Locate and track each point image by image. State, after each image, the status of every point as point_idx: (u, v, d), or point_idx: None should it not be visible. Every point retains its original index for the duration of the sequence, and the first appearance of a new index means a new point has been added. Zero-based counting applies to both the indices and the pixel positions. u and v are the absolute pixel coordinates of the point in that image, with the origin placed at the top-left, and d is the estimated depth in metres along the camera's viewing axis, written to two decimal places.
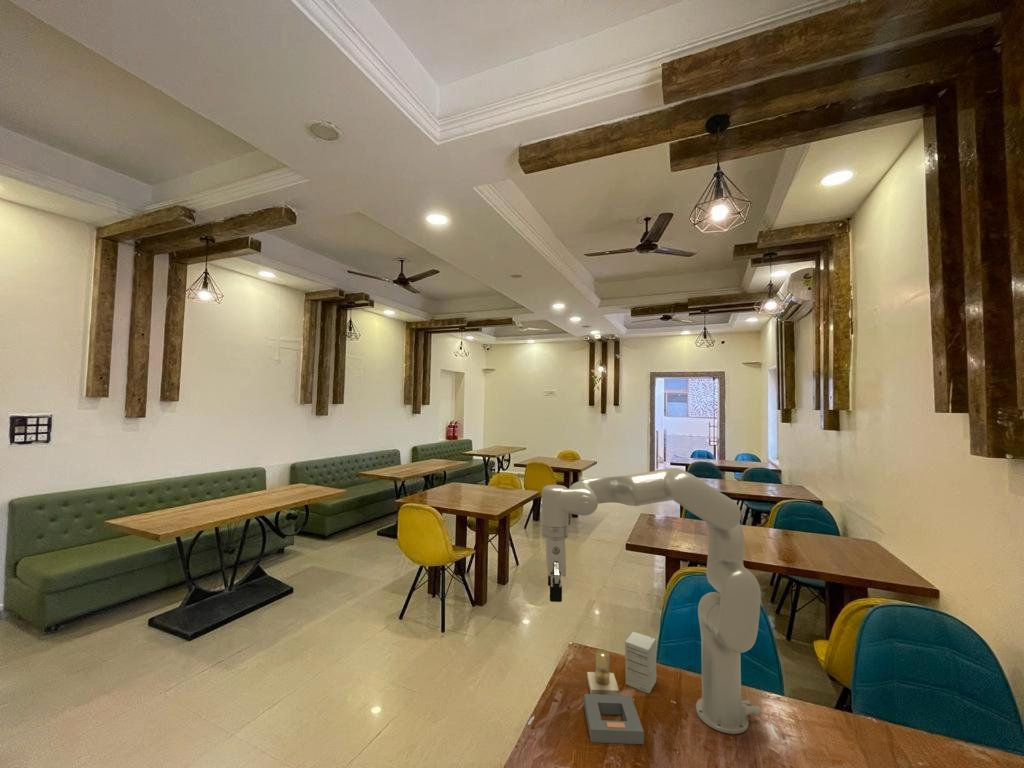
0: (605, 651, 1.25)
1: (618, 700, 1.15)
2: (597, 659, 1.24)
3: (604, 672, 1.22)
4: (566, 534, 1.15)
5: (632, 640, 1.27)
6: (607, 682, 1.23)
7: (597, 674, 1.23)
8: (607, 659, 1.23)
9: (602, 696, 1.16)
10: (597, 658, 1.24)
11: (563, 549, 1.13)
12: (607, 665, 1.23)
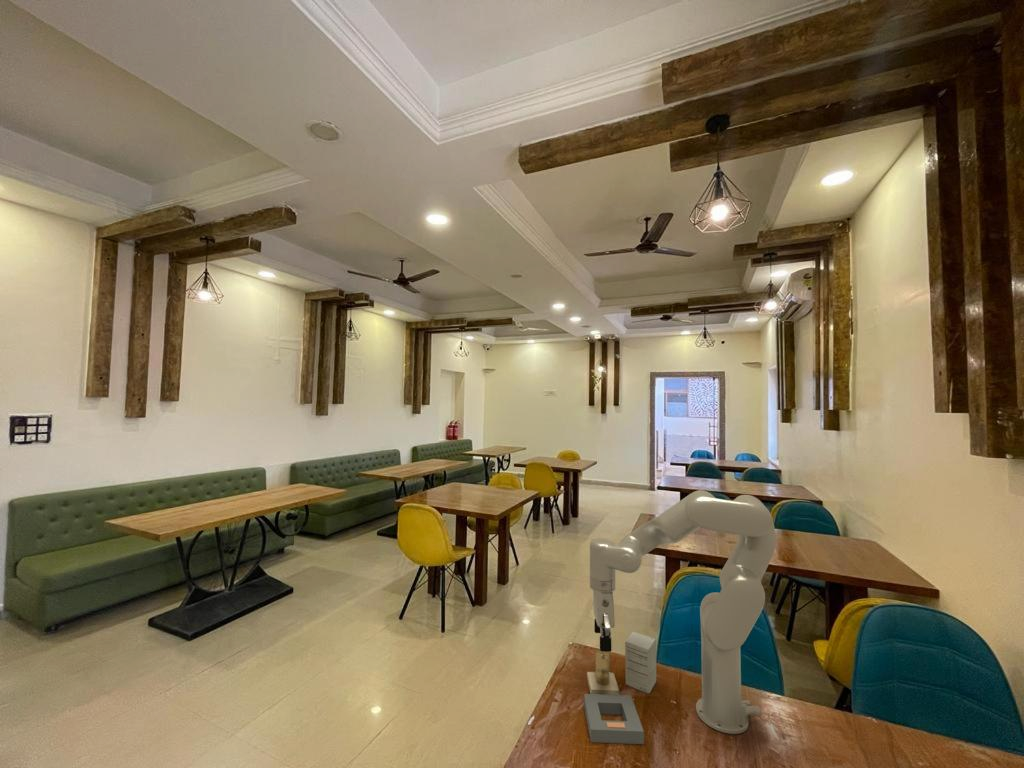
0: None
1: (618, 700, 1.15)
2: (597, 659, 1.24)
3: (604, 672, 1.22)
4: (614, 587, 1.23)
5: (632, 640, 1.27)
6: (607, 682, 1.23)
7: (597, 674, 1.23)
8: (607, 659, 1.23)
9: (602, 696, 1.16)
10: (597, 658, 1.24)
11: (612, 602, 1.21)
12: (607, 665, 1.23)
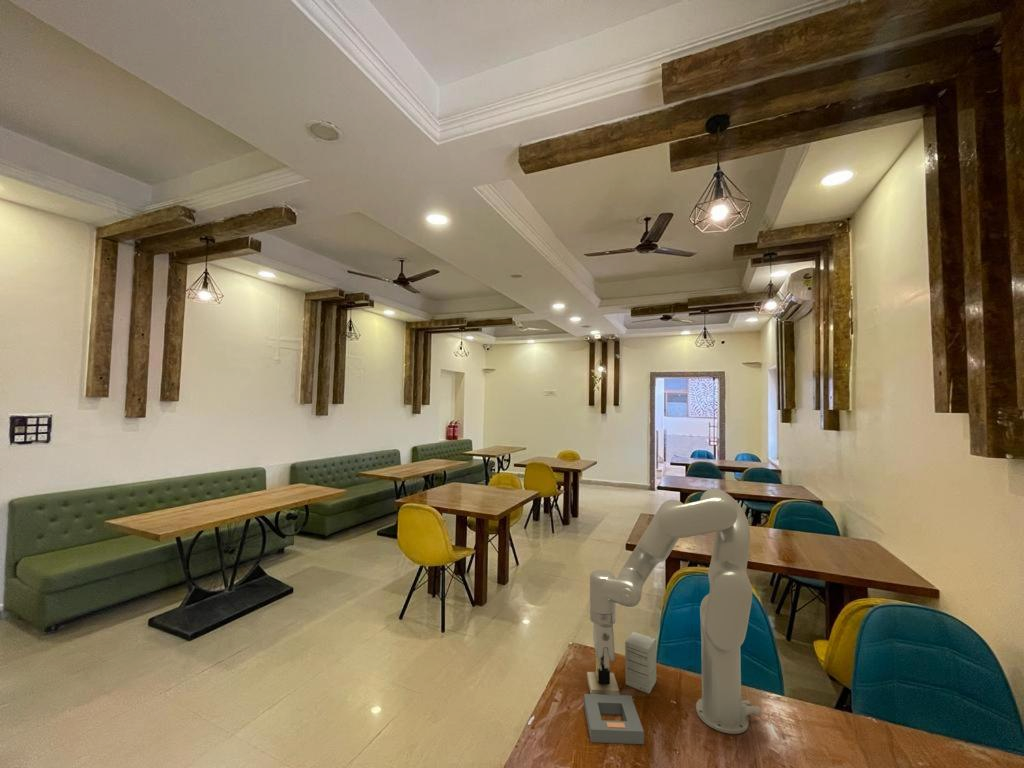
0: None
1: (618, 700, 1.15)
2: (597, 659, 1.24)
3: None
4: (614, 620, 1.23)
5: (632, 640, 1.27)
6: None
7: (597, 674, 1.23)
8: None
9: (602, 696, 1.16)
10: (597, 658, 1.24)
11: (612, 635, 1.20)
12: None
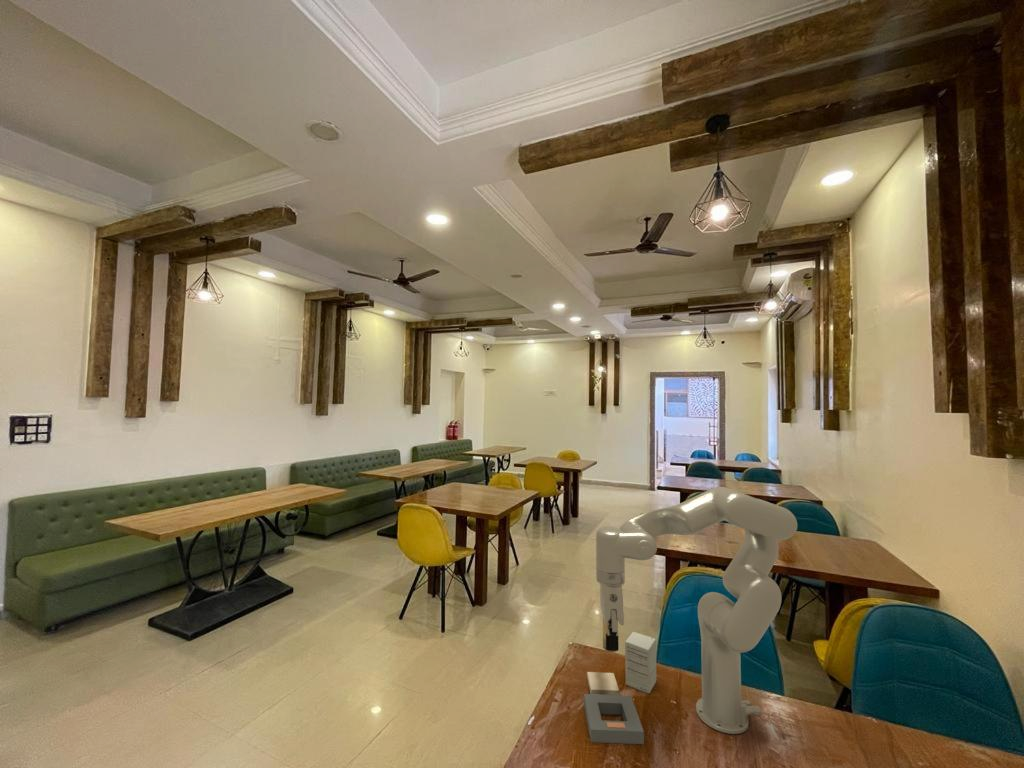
0: None
1: (618, 700, 1.15)
2: (604, 623, 1.12)
3: None
4: (623, 580, 1.11)
5: (632, 640, 1.27)
6: None
7: (604, 640, 1.12)
8: None
9: (602, 696, 1.16)
10: (604, 622, 1.12)
11: (621, 596, 1.09)
12: None
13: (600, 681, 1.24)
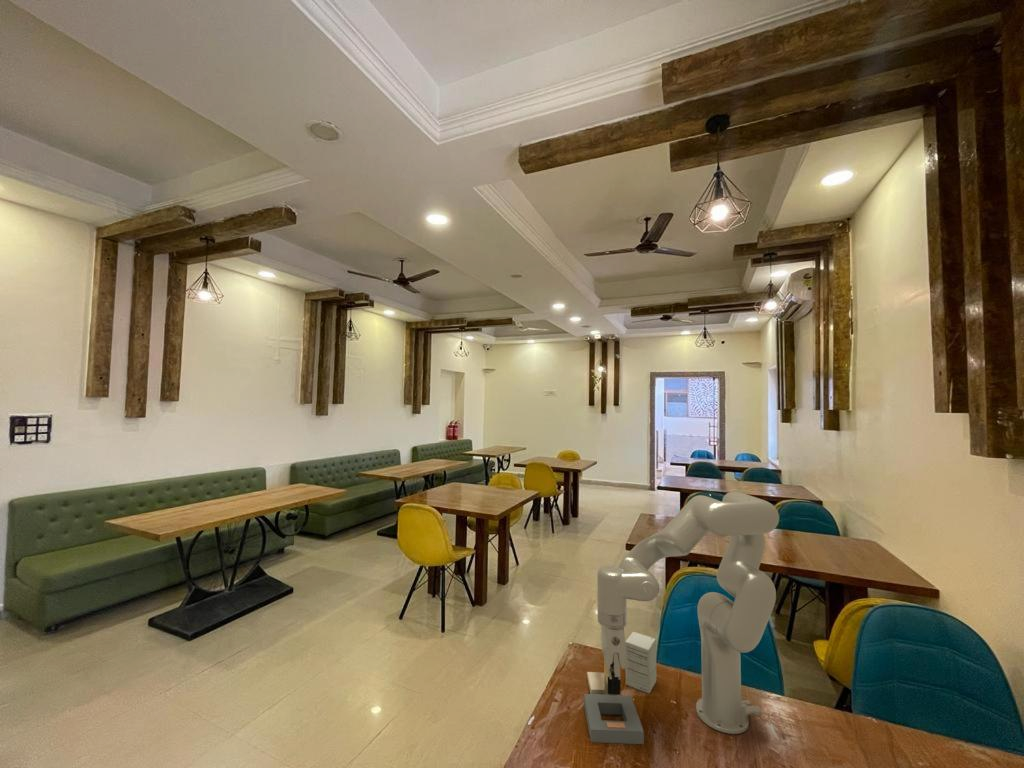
0: None
1: (618, 700, 1.15)
2: (606, 666, 1.10)
3: None
4: (625, 622, 1.09)
5: (632, 640, 1.27)
6: None
7: (606, 683, 1.10)
8: None
9: (602, 696, 1.16)
10: (606, 665, 1.10)
11: (623, 639, 1.07)
12: None
13: (600, 681, 1.24)
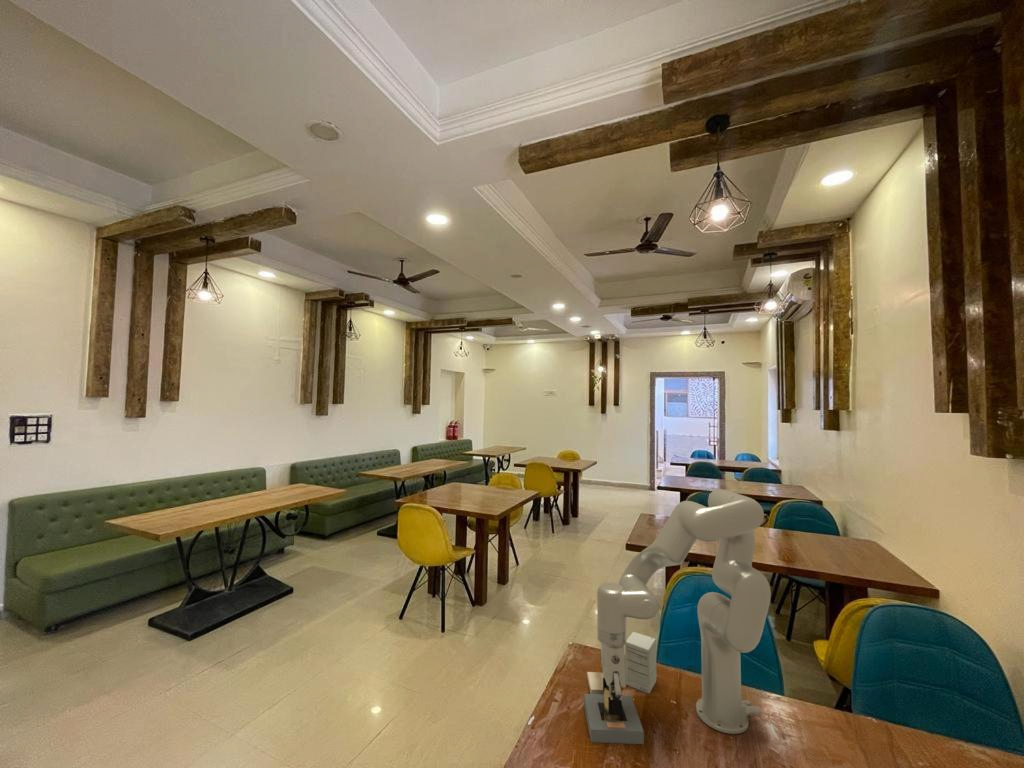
0: (614, 689, 1.12)
1: None
2: (606, 699, 1.10)
3: None
4: (625, 640, 1.09)
5: (632, 640, 1.27)
6: None
7: (606, 716, 1.09)
8: None
9: (602, 696, 1.16)
10: (606, 698, 1.10)
11: (623, 658, 1.07)
12: None
13: (600, 681, 1.24)
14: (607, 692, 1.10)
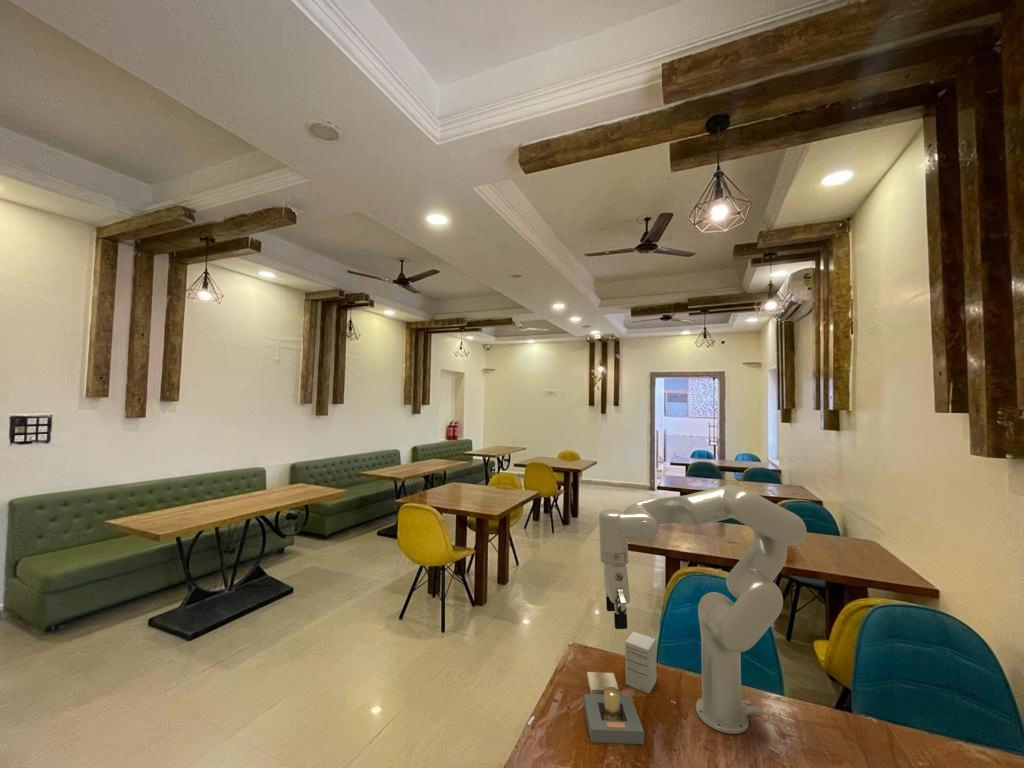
0: (615, 689, 1.11)
1: None
2: (606, 699, 1.10)
3: (614, 714, 1.08)
4: (627, 559, 1.15)
5: (632, 640, 1.27)
6: None
7: (606, 716, 1.09)
8: (617, 699, 1.09)
9: (602, 696, 1.16)
10: (606, 698, 1.10)
11: (626, 575, 1.12)
12: (617, 706, 1.09)
13: (600, 681, 1.24)
14: (607, 692, 1.10)
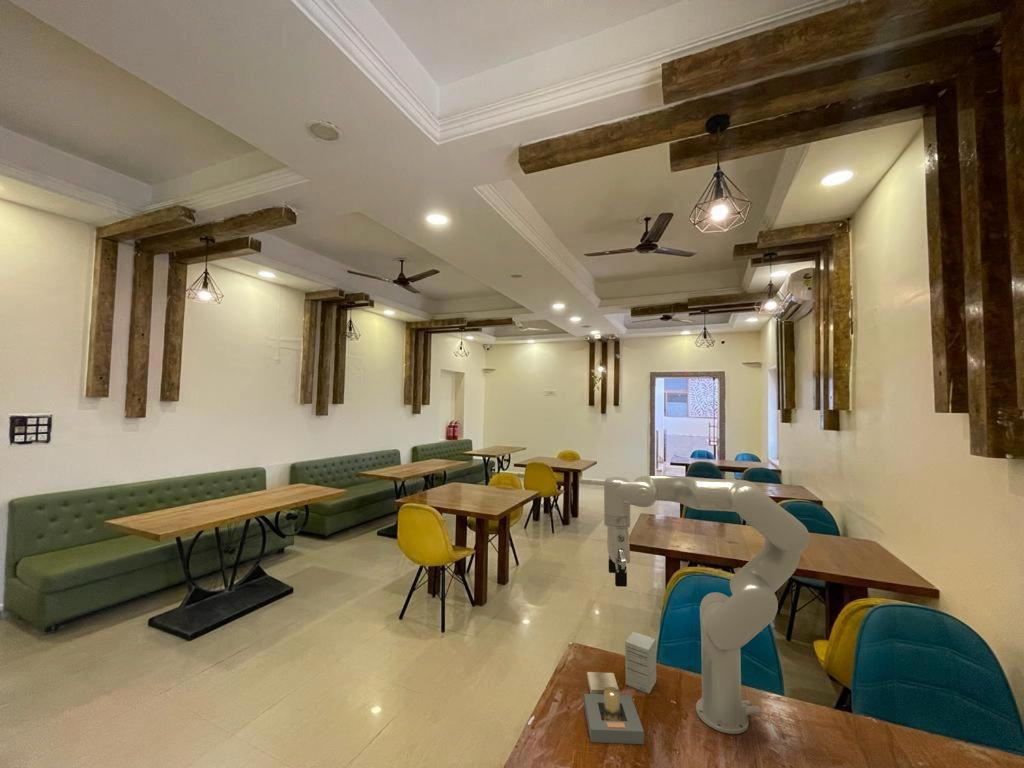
0: (615, 689, 1.11)
1: None
2: (606, 699, 1.10)
3: (614, 714, 1.08)
4: (629, 523, 1.22)
5: (632, 640, 1.27)
6: None
7: (606, 716, 1.09)
8: (617, 699, 1.09)
9: (602, 696, 1.16)
10: (606, 698, 1.10)
11: (627, 537, 1.20)
12: (617, 706, 1.09)
13: (600, 681, 1.24)
14: (607, 692, 1.10)
